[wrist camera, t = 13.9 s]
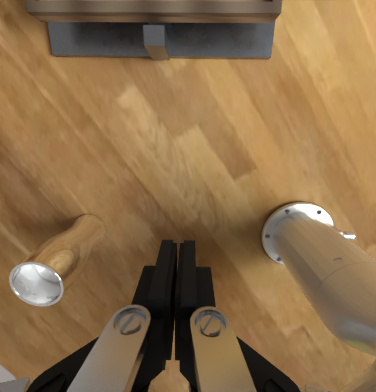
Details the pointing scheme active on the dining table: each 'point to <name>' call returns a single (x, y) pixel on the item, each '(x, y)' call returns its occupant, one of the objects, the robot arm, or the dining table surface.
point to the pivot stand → (162, 40)
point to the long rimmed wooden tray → (156, 11)
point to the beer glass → (57, 262)
